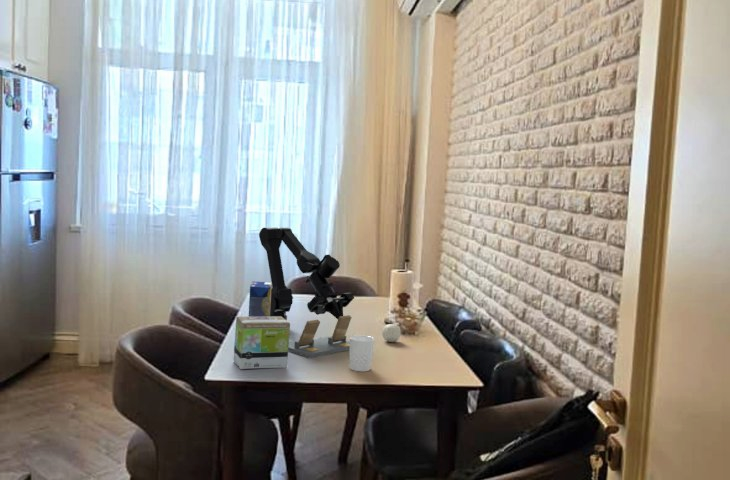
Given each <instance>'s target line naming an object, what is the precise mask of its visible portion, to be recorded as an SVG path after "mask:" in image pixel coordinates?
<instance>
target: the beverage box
mask: <svg viewBox="0 0 730 480" xmlns="http://www.w3.org/2000/svg"><path fill="white" fill-rule="evenodd" d="M271 290H272V282H271V281H254V280H253V281H251V283H250V286H249V298H248V317H260V316H270V309H271Z"/></svg>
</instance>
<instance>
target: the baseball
mask: <svg viewBox="0 0 730 480" xmlns="http://www.w3.org/2000/svg"><path fill="white" fill-rule="evenodd" d="M381 332H382V334H381V335H382V338H383V340H385V341H386V342H387V343H395V342H398V340H399V339H400V337H401V335H402V334H401V329H400V327H399V326H398V325H397V324H394V323H388V324H386V325H384V327H383V328H382V331H381Z"/></svg>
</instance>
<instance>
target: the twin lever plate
mask: <svg viewBox="0 0 730 480" xmlns="http://www.w3.org/2000/svg"><path fill="white" fill-rule="evenodd" d="M349 348H350V340H347V335H345V337H344V339H343V341H338V342H333V338H332V335H331V336H325V337H320V338H315V339H314V338H313V340H312V343H311V344H310V345H307V346H301V347H300V342H299V341H294V342H293V343H292V342H291V343H289V345H288V352H289V353H293V354H297V355H299V356H302V357H304V358H305V357H306V358H307V359H308V358H309V359H311V358H316V357H319V356H325V355H330V354H334V353H335V354H336V353H339V352H344V351H349Z"/></svg>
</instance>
